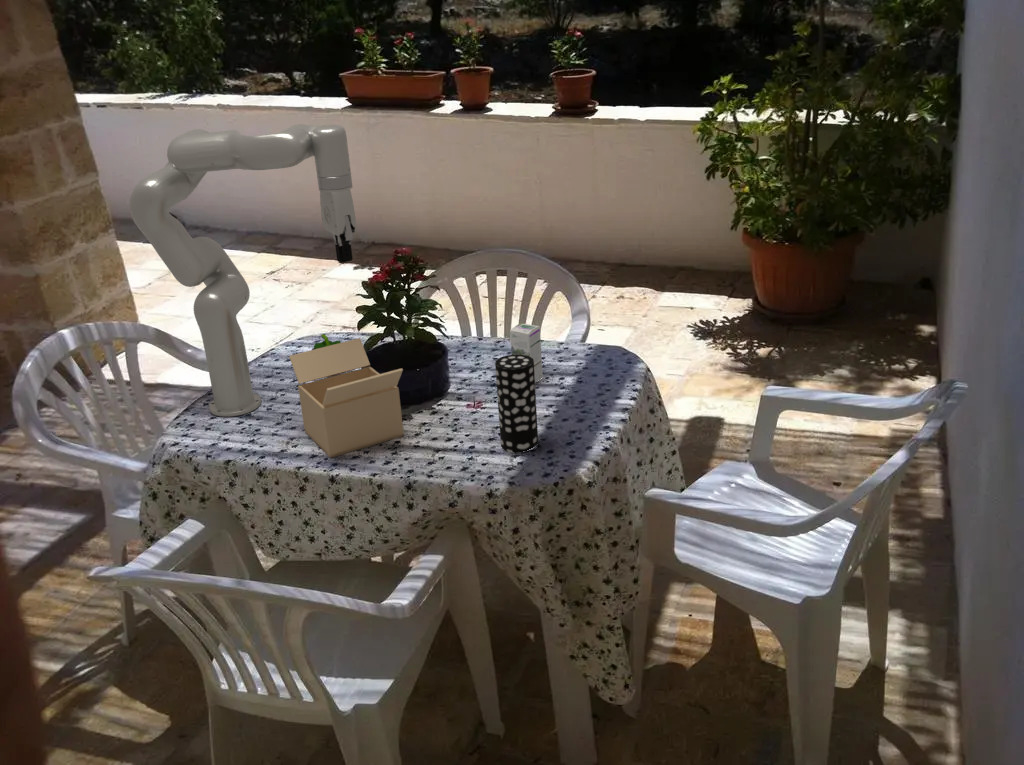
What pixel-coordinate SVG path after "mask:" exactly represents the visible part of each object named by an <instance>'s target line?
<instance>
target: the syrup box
mask: <svg viewBox="0 0 1024 765" xmlns="http://www.w3.org/2000/svg"><path fill="white" fill-rule="evenodd" d="M509 338H510V352H511V354H510V355H514V354H520V355H527V356H530V357H531V358H533V360H534V373H535V382H537V381H538V380H540V379H541V378H542V377H543V378H544V375H543V373H544V372H543V361H542V360H543V359H542V357H543V356H542V343H541V342H542V341H541V340H542V339H541V338H542V336H541V326H540V325H536V324H535V325H533V324H528V323H521V322H520V323H519V324H516V325H515V326H514V327H512V328H511V329H510V330H509ZM540 381H541V380H540Z"/></svg>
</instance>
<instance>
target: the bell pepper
mask: <svg viewBox="0 0 1024 765" xmlns="http://www.w3.org/2000/svg"><path fill="white" fill-rule="evenodd" d="M320 337H321V338H322V339H323V341H321V342H315V343H314V346H313V348H312V350H314V349H318V348H322V347H326V346H330V345H334V344H338V343H342V342H341V341H340V340H334V341H331V340H329V338H328V335H326V334H323V333H322V334H321V335H320Z"/></svg>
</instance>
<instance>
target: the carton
mask: <svg viewBox="0 0 1024 765" xmlns="http://www.w3.org/2000/svg"><path fill="white" fill-rule="evenodd" d="M379 374H380V373H379V372H378V371H377V370H376V369H374V368H373V367H371V366H366V367H362V368H358V369H354V370H351V371H347V372H343V373H339V374H335V375H332V376H328V377H324V378H320V379H317V380H313V381H309V382H305V383H301V384H298V385H297V388H298V395H299V402H300V408H301V414H302V415H301V416H302V421H303V427H304V433H305V434H306V435H307V436H308V437H309V438H310V439H311V440H312V441H313V442H314V443H315V444H316V445H317V446H318V447H319V448H320V449H321V451H323V453H324V454H325V455H327V456H328V457H329V459H332V458H335V457H338V456H339V457H340V456H342V455H345V454H349V453H352V452H354V451H358V450H362V449H366V448H369V447H372V446H375V445H379V444H381V443H385V442H388V441H392V440H395V439H398V438H401V437H404V436H405V435H404V434H405V433H404V425H403V418H402V417H403V416H402V407H401V399H400V389H399V387H398V386H395V387H391V388H388V389H384V390H381V391H377V392H373V393H370V394H366V395H363V396H359V397H355V398H352V399H348V400H345V401H341V402H337V403H334V404H330V405H327V406H323V405H322V404H323V401H324V397H325V393H326V390H327V388H331V387H334V386H338V385H342V384H346V383H349V382H353V381H357V380H360V379H364V378H368V377H371V376H375V375H379Z"/></svg>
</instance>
